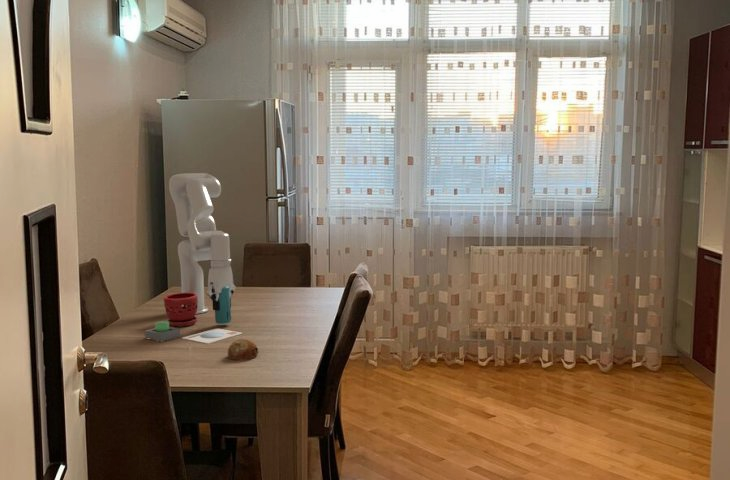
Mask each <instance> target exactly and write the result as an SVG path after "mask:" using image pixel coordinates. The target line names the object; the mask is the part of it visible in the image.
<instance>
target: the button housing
mask: <svg viewBox="0 0 730 480" xmlns="http://www.w3.org/2000/svg"><path fill="white" fill-rule="evenodd" d="M144 336H145V337H146V338H150V339H154V340H153V341H155V340H158V341H157V342H159V341H163V342H165V340H167V341H170V340H174V339H178V338H180V337H181V330H180V328H177V327H176V328H175V327H173V326H172V327H171V326H169V331H166V332H162V333H161V332H156V328H155V327H154V328H150V329H147V330H144ZM177 337H178V338H177ZM173 338H174V339H173ZM150 339H149V340H150ZM169 339H170V340H169Z"/></svg>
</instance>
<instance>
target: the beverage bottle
mask: <svg viewBox="0 0 730 480" xmlns="http://www.w3.org/2000/svg"><path fill="white" fill-rule="evenodd" d="M215 297H216V294H215ZM230 300H231V301H232V298H231V299H230V287H229V286H225V287H223V288H222V291H221V293H219V298H218V301H219V308H220V310H219V311H216V310H214V319H215V320H214V321H215V323H216V324H218V325H221V324H222V325H223V324H229V323H231V321H232V310H231V309H232V305H231V306H230Z"/></svg>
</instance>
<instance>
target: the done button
mask: <svg viewBox="0 0 730 480" xmlns="http://www.w3.org/2000/svg"><path fill="white" fill-rule="evenodd" d="M154 325H155V327H154V328H156V332H161V333H162V332H166V331H169V327H170V324H169V322H168V320H161V321H156V322H154Z"/></svg>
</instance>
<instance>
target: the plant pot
mask: <svg viewBox="0 0 730 480" xmlns="http://www.w3.org/2000/svg"><path fill="white" fill-rule="evenodd" d="M163 303H164V304H163V305H164V309H165V313H166V315H167V317H168V320H167V321H168V322H169V326H172V327H179V328H180V327H181V328H182V327H188V326H191V325H194V324H195V323H197V322H198V317H196V315H197V314H196V312H197V306H198V299H197V294H195V293H182V292H178V293H171V294H168V295H165V296H164V297H163ZM182 305H184V306H183V307H182ZM186 306H187V307H186Z"/></svg>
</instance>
